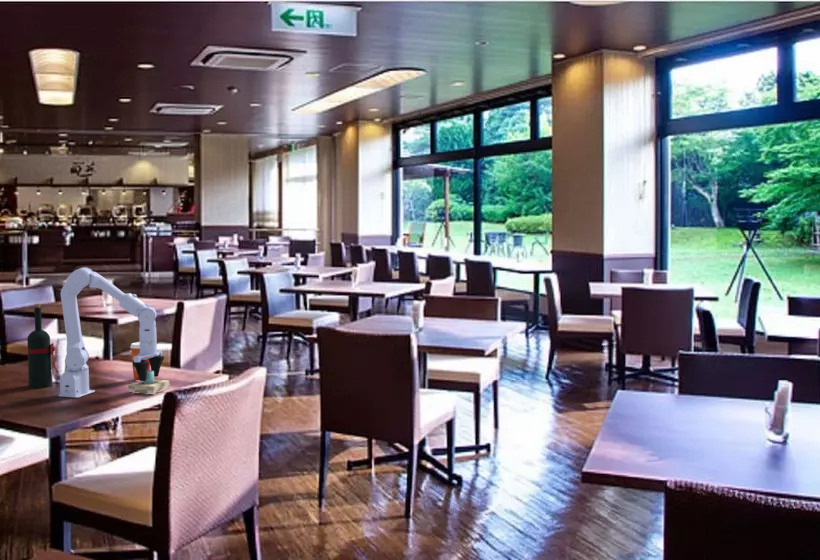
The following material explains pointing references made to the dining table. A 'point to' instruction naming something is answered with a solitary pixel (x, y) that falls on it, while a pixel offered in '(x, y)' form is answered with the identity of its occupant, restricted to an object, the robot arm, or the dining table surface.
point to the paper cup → (135, 351)
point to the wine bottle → (39, 354)
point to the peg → (149, 377)
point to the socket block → (148, 386)
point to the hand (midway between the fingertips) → (149, 378)
